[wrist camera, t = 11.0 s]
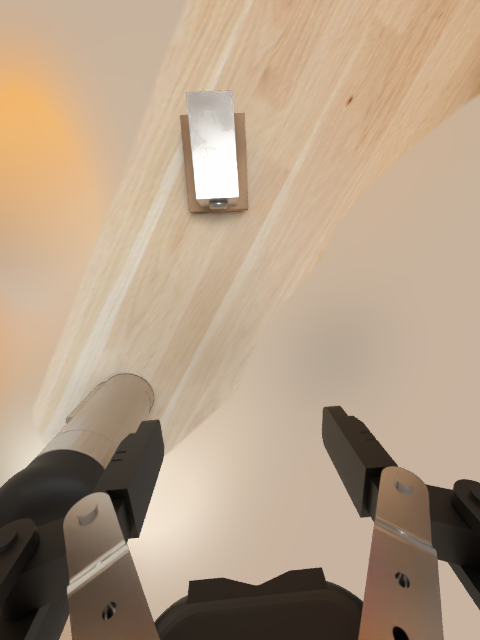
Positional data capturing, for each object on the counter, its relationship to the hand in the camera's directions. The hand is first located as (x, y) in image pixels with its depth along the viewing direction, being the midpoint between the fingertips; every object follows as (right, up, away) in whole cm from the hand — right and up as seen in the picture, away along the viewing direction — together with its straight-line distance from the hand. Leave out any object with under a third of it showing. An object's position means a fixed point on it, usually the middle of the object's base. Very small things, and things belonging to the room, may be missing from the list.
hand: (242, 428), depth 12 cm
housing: (-3, +26, +20) cm, 32 cm away
